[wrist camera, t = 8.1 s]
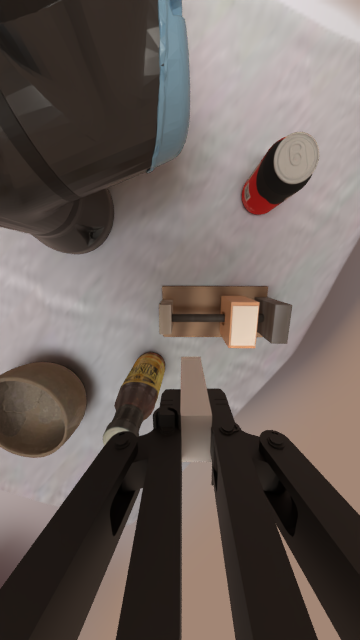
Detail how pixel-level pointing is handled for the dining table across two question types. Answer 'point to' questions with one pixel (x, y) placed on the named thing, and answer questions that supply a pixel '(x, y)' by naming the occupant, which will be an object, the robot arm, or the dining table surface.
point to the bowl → (39, 408)
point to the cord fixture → (218, 311)
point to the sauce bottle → (137, 395)
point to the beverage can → (281, 172)
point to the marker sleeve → (239, 321)
